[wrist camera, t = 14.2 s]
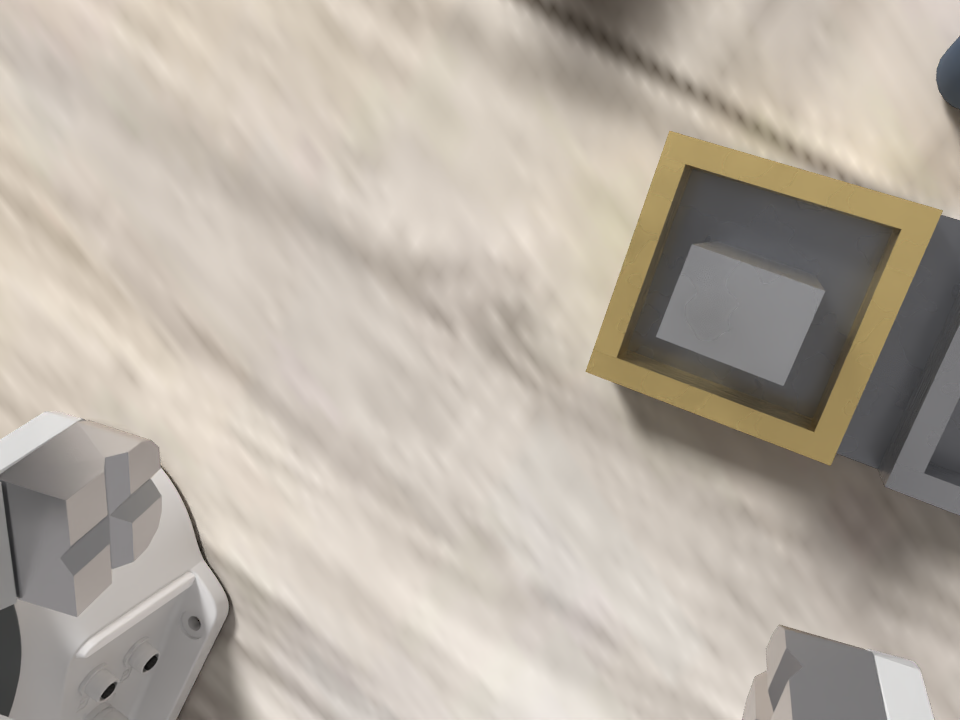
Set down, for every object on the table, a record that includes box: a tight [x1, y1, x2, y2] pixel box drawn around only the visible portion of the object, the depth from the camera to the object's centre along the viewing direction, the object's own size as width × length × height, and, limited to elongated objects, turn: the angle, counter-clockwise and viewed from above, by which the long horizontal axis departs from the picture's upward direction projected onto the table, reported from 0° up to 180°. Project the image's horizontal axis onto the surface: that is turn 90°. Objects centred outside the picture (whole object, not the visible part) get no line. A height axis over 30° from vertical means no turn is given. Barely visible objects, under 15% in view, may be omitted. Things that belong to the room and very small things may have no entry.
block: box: [656, 241, 825, 386], centre depth 30 cm, size 3×4×10 cm
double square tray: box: [586, 131, 960, 516], centre depth 32 cm, size 10×22×4 cm, turn 72°
